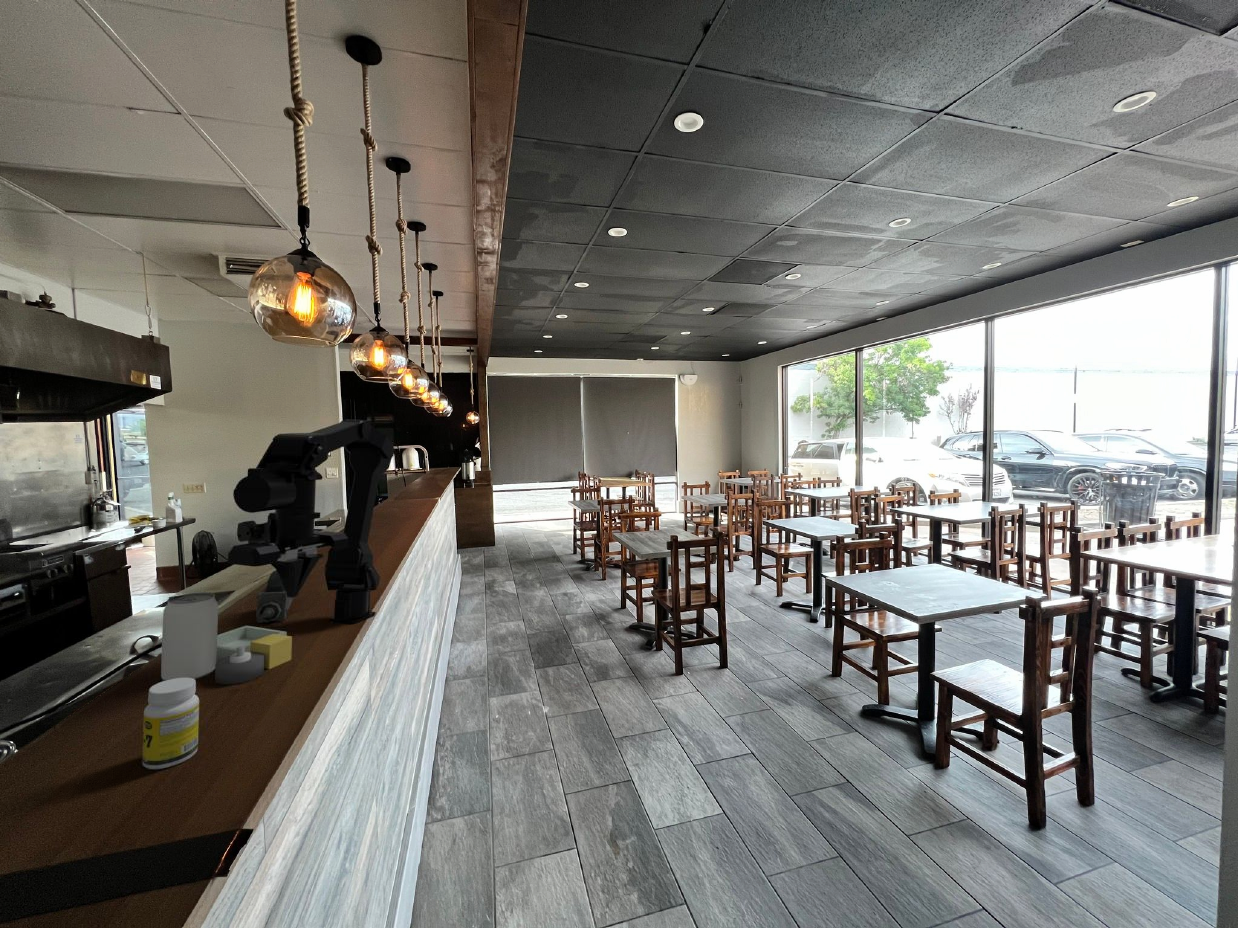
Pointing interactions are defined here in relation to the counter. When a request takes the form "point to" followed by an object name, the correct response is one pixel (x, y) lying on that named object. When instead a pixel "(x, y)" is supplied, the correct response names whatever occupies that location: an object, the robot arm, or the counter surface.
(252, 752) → the counter surface
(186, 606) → the can
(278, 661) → the yellow cube
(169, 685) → the supplement bottle
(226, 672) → the trolley wheel
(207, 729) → the counter surface
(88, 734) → the counter surface
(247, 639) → the tray
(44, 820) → the counter surface
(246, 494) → the robot arm
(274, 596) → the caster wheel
